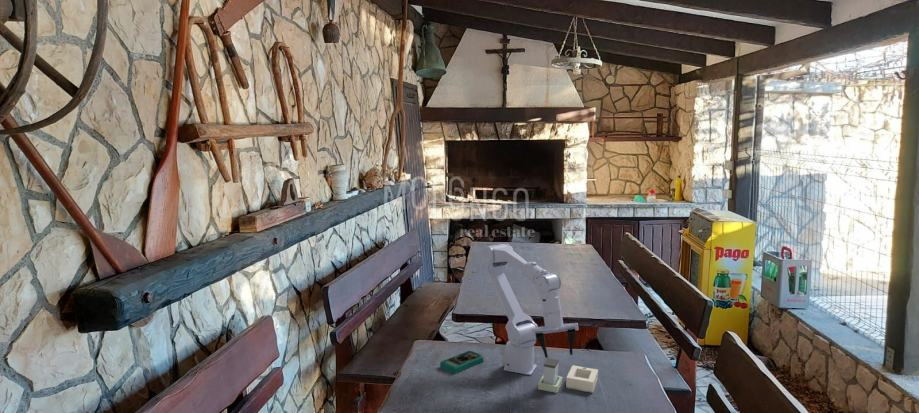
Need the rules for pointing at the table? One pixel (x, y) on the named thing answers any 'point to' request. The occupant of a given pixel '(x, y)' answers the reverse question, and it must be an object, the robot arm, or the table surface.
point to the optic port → (582, 379)
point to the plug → (550, 371)
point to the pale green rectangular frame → (550, 387)
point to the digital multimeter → (461, 362)
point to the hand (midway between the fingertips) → (558, 355)
